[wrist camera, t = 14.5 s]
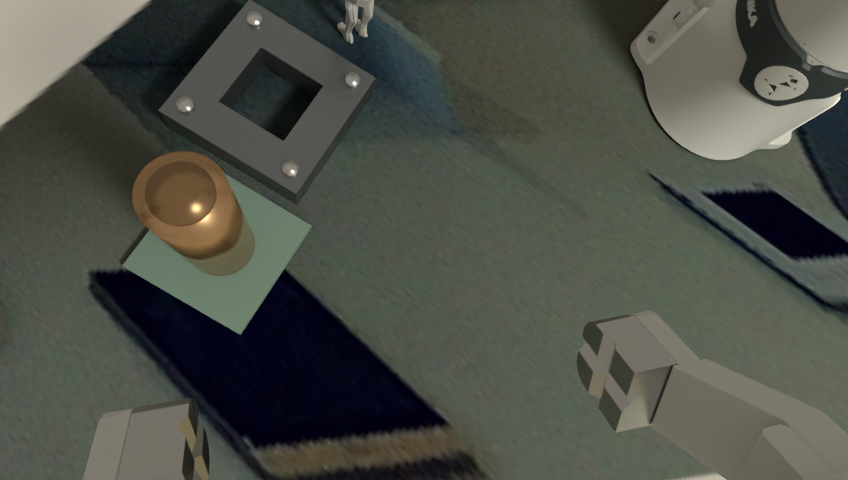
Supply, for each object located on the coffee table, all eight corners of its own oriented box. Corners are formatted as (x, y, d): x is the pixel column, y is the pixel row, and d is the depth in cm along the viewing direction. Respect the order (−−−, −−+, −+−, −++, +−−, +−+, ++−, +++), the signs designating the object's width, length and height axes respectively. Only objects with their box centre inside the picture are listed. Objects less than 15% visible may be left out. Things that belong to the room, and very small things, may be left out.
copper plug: (212, 201, 43) (168, 132, 30) (267, 234, 43) (247, 180, 30) (173, 255, 41) (109, 206, 29) (230, 288, 42) (193, 255, 29)
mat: (204, 162, 44) (202, 160, 43) (311, 227, 45) (311, 225, 44) (124, 267, 41) (122, 266, 41) (240, 334, 42) (239, 334, 41)
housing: (253, 21, 48) (249, -5, 44) (371, 94, 48) (376, 75, 45) (168, 126, 44) (156, 108, 41) (297, 204, 45) (296, 192, 42)
